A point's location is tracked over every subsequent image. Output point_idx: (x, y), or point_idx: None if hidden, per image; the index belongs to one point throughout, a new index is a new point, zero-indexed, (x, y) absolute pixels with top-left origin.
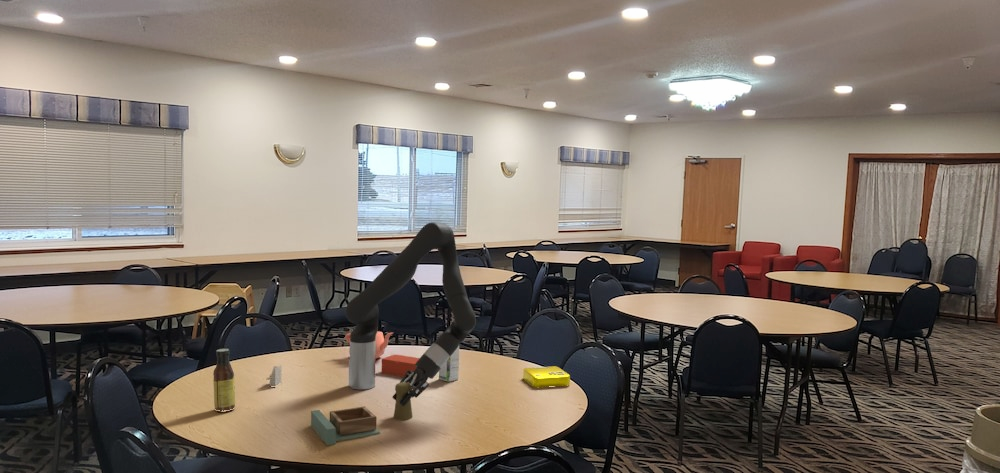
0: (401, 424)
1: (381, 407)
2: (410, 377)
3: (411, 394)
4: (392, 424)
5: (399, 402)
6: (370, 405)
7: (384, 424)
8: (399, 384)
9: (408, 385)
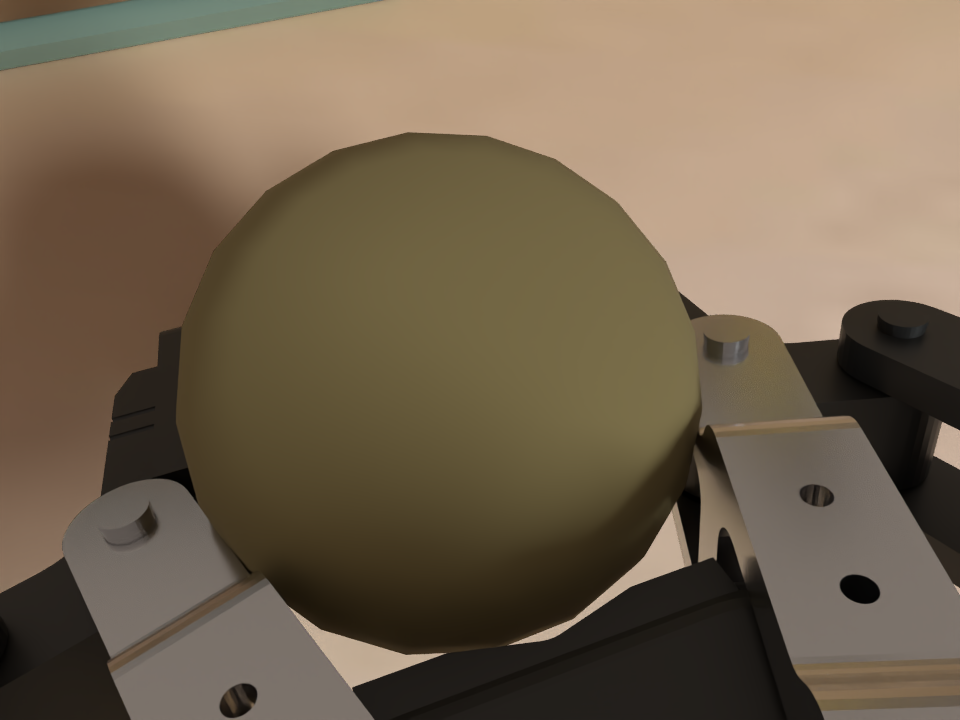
0: (84, 424)
1: (826, 225)
2: (786, 669)
3: (12, 613)
4: (121, 301)
5: (170, 330)
6: (903, 109)
7: (151, 201)
8: (365, 199)
9: (274, 531)
